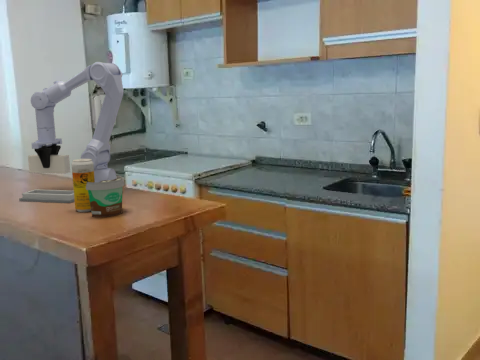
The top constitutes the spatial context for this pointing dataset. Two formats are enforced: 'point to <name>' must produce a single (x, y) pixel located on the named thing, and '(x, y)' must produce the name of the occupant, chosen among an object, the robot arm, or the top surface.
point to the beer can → (82, 183)
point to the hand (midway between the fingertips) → (49, 167)
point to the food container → (106, 197)
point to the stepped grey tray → (48, 196)
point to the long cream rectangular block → (57, 164)
